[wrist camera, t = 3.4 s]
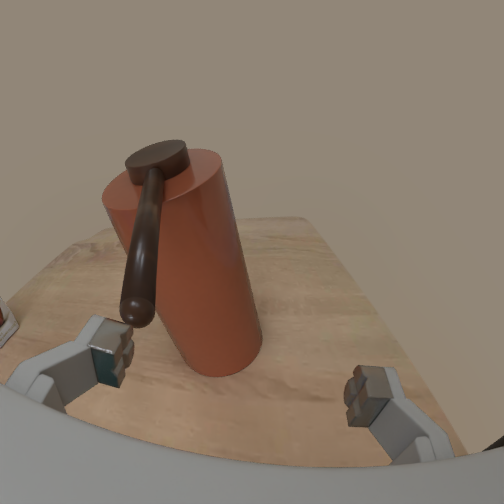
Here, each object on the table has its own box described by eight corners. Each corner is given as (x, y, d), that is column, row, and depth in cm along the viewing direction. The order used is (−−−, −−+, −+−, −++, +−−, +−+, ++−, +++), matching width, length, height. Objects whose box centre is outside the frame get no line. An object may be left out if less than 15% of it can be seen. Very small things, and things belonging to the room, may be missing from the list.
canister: (253, 301, 46) (215, 139, 31) (270, 365, 38) (229, 184, 23) (179, 319, 46) (113, 169, 31) (184, 384, 37) (89, 224, 22)
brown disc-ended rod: (204, 321, 13) (192, 292, 12) (90, 345, 13) (70, 320, 12) (189, 151, 30) (185, 134, 29) (135, 167, 30) (129, 151, 28)
